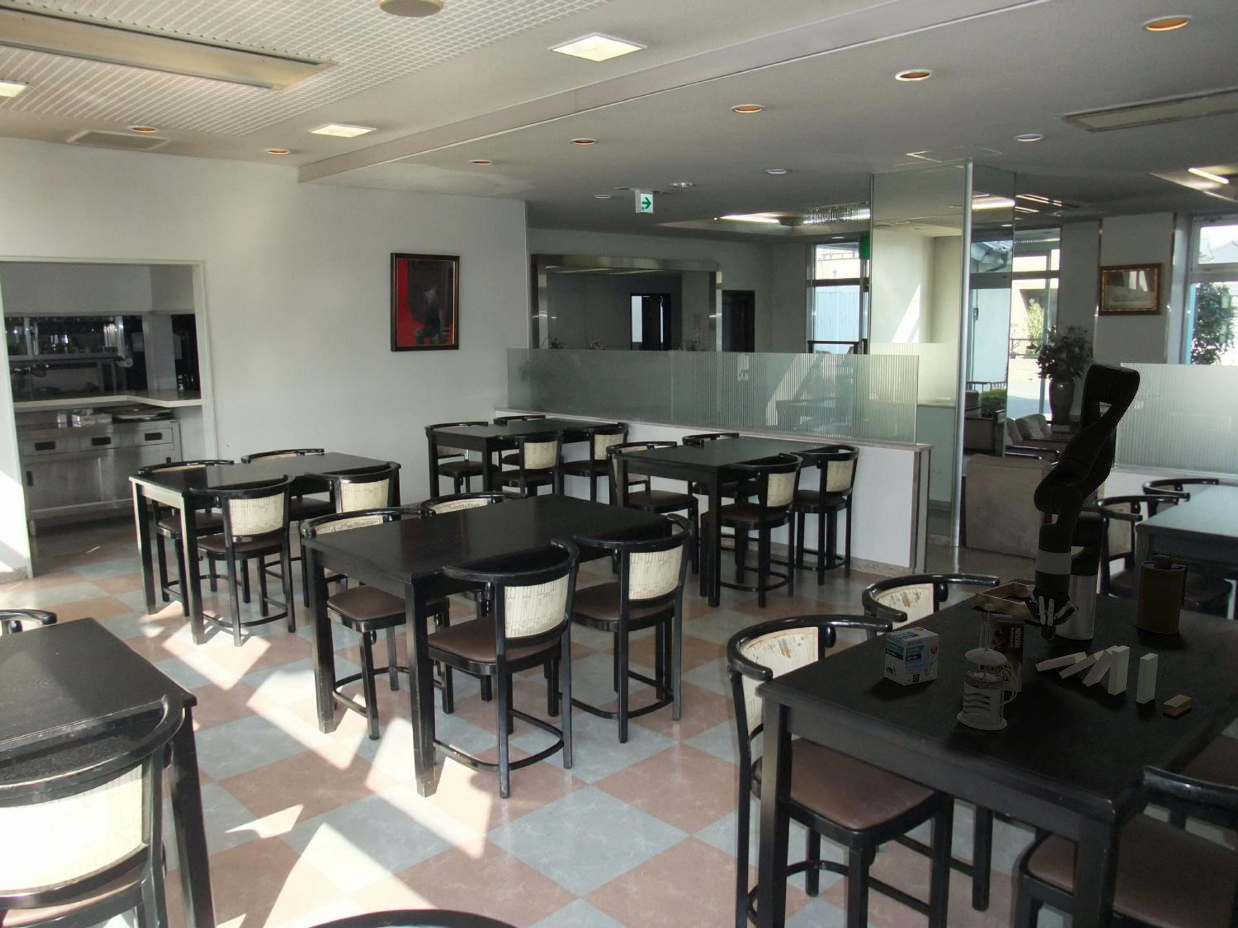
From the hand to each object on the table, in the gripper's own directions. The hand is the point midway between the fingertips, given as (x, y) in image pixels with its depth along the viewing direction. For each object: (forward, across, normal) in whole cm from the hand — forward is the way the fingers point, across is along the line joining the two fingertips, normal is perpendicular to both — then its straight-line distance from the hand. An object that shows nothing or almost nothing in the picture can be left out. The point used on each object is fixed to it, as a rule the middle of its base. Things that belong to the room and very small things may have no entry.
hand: (1047, 639), depth 220 cm
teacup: (+8, +26, -45) cm, 53 cm away
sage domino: (+8, -22, 0) cm, 24 cm away
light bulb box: (+8, +16, +30) cm, 35 cm away
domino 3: (+7, -11, 0) cm, 13 cm away
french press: (+8, -8, +38) cm, 39 cm away
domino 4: (+8, -16, 0) cm, 18 cm away
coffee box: (+8, +1, +18) cm, 20 cm away
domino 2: (+7, -5, 0) cm, 9 cm away
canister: (+8, -2, -54) cm, 55 cm away
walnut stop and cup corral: (+8, +4, -24) cm, 26 cm away
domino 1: (+7, +1, 0) cm, 7 cm away
